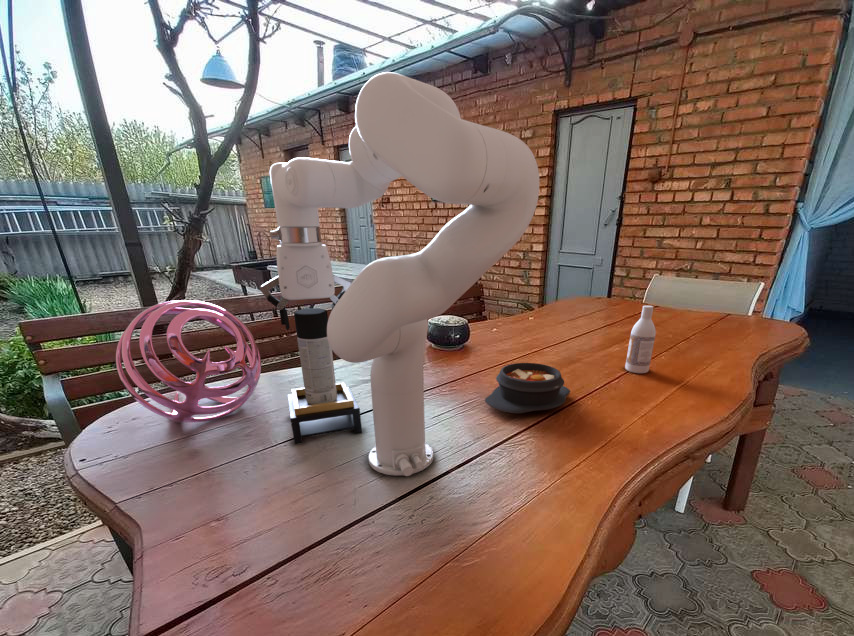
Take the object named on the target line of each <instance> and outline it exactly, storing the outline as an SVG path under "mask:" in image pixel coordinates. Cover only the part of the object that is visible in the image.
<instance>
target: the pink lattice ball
mask: <svg viewBox="0 0 854 636" xmlns="http://www.w3.org/2000/svg"><path fill="white" fill-rule="evenodd" d="M186 306H190V307H196V308H186ZM164 316H174V317H173V318H172V319H171V321H170V322H169V324H168V326H167V329H166V342H167V345H168V349H169V351H170V352H171V354H172V355H173V357H175V358H176V360H177V361H178V362H180V363H181V364H182V365H184V366H185V367H186V368H188V369H190V370H191V371H194V372H195V374H196V376H195V379H194V380H193V381H192V382H188V381H185V380H183V379H181V378H179V377H178V376H177V375H174V374H173V373H172V372H171V371H170V370H168V368H166V367H165V365H164V364H163V363H162V362H161V360H160V359H159V357H158V355H157V354H156V352H155V349H154V345H153V331H154V328H155V326H156V324H157V322H158V321H159V319H161V317H164ZM194 319H201V320H204V321H206V322H209V323H211V324H213V325H215V326H216V327H218V328H220V329H222V330H224V331H225V332H226V333H227V334H228V335H229V336H231V337H232V338H233V339H234V340H235V341H236V348H235V350H233V349H231V348H230V347H228V346H227V345H224V346H223V348H224V350H225V351H226V352H227V354H228V355H229V358H228V359H226V360H223V361H219V362H218V361H217V362H213V361H212V360H211V350H210V349H208V350H207V351H206V353H205V355H204V357H203V358H201V359H200V358H198V357H197V356H195V355H193V354H192V353H191V352H190V351H189V350H188V349H187V348H186V346H185V344H184V341H183V338H182V332H183V328H184V327H185V325H186V324H187V323H188V322H190V321H191V320H194ZM141 325H142V326H141ZM139 326H141V329H140V332H139V337H138V339H139V341H138V342H139V349H140V350H139V351H140V353H141V356H142V358H143V359H142V360H143V361H144V363H145V365H146V366H147V367H148V370H150V372H151V373H152V374H153V375H154V376H155V377H156V378H157V379H158V380H160V381H161V382H162V383H163V384H165V385H166V386H168V387H169V388H171V389H173V390H175V391H177V392H176V393H175V395H174V398H173V399H171V398H169V397H168V396H165V395H163V394H162V393H161V392H159V391H157V390H156V389H155V388H154V387H152V386H151V384H149V383H148V382H147V380H145V379H144V378H143V377H142V375H141V374H140V372H139V371H138V369H137V367H136V366H135V365H136V364H135V363H134V360H133V357H132V351H131V341H132V336H133V333H134V331H135V329H137V328H138V327H139ZM245 337H246V338H247V339H246V338H245ZM246 340H248V341H249V343H250V346H251V347H250V346H249V344H248V342H247V341H246ZM245 359H247V362H248V364H247V362H246V360H245ZM115 365H116V370H117V374H118V376H119V379H120V381H121V383H122V385H123V387H124V388H125V389H126V391H127V392H128V393H129V395H130V396H131V397H132V398H133V399H134V400H135V401H137V403H139V404H140V405H141V406H143V407H144V408H145V409H147V410H149V411H151V412H153V413H154V414H156V415H158V416H160V417H163V418H166V419H169V420H171V421H173V422H176V423H206V422H212V421H217V420H220V419H222V418H224V417H227V416H229V415H231V414H232V413H234V412H236V411H237V410H238V409H240V408H241V407H242V406H243V405H244V404H245V403H247V401H248V400H249V399H250V398H251V397H252V396H253V394H254V392H255V390H256V388H257V385H258V384H259V380H260V377H261V372H262V359H261V354H260V349H259V347H258V345H257V342H256V340H255V337H254V336H253V334H252V332H251V331H250V329H249V328H248V327H247V326H246V324H244V322H243V321H242V320H240V318H238V317H237V316H236V315H234V314H233V313H231V312H230V311H228V310H227V309H225V308H223V307H221V306H219V305H216V304H214V303H211V302H205V301H201V300H190V299H189V300H188V299H187V300H185V299H181V300H179V299H178V300H177V299H176V300H170V301H169V300H168V301H164V302H160V303H157V304H154V305H152V306H149V307H148V308H146V309H144V310H142V311H141V312H140V313H139V314H137V315H136V316H135V317H134V318H133V319H132V320H131V321H130V323H129V324H128V326H127V327H126V329H125V330H124V331H123V333H122V334H121V336H120V338H119V340H118V343H117V346H116V351H115ZM123 365H124V367H125V370H126V372H127V374H128V376H129V377H130V380H132V383H134V385H136V387H137V388H138V389H139V390H140V391H141V392H142V393H143V394H145V395H146V396H147V397H148V398H150V399H151V400H152V401H154V402H156V403H158V404H159V405H161V406H163V407H165V408H168V409H170V412H167V411H165V410H163V409H161V408H158V407H156V406H155V405H153V404H151V403H150V402H148V401H147V400H146V399H145V398H143V397H142V396H141V395H140V394H139V393H138V392H137V391H136V390H135V388H134V387H133V386H132V385H131V384H130V381H129V380H128V378H127V376H126V374H125V371H124V368H123ZM238 368H240V370H241V371H242V376H241V377H240V378H239V379H237V380H236V381H234V382H232V383H230V384H227V385H222V386H207V385H206V379H207V377H208V376H216V375H217V376H219V375H225V374H229V373H230V372H232V371H234V370H236V369H238ZM245 387H247V389H246V391H245V392H244V393H243V394H242V395H240V396H230V395H233V394H234V393H237V392H240V391H241V390H242V389H243V388H245ZM179 393H181V394H183V395H184V396H185V399H184V401H179V398H180V397H179ZM203 399H208V400H210V401H213V402H216V403H220V404H219V405H214V406H201V405H199V402H200V401H201V400H203ZM213 414H215V415H213ZM199 415H201V416H202V415H210V416H205V417H193V416H199Z"/></svg>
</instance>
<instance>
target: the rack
mask: <svg viewBox="0 0 854 636" xmlns="http://www.w3.org/2000/svg"><path fill="white" fill-rule="evenodd" d="M336 390H337V400H336V401H335V402H329V403H322V404H315V405H310V404H308V403H307V400H306V395H305V388H304V387H298V388H291V389H290V391H291V393H288V394H287V396H286V397H287V404H288V411H289V418H290V424H291V431H292V435H293V443H294V445H299V444H303V439H304V438H310V437H316V436H322V435H328V434H333V433H340V432H344V431H345V432H346V431H352V430H353V432H354V434H355V435H357V434H362V433H363V428H362V419H361V418H362V417H361V407H360V406H359V404H358V402H357V400H356V398H355V395H354V394H353V392H352V390H351V388H350V386H348V385H346V383H345V382H336Z"/></svg>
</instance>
